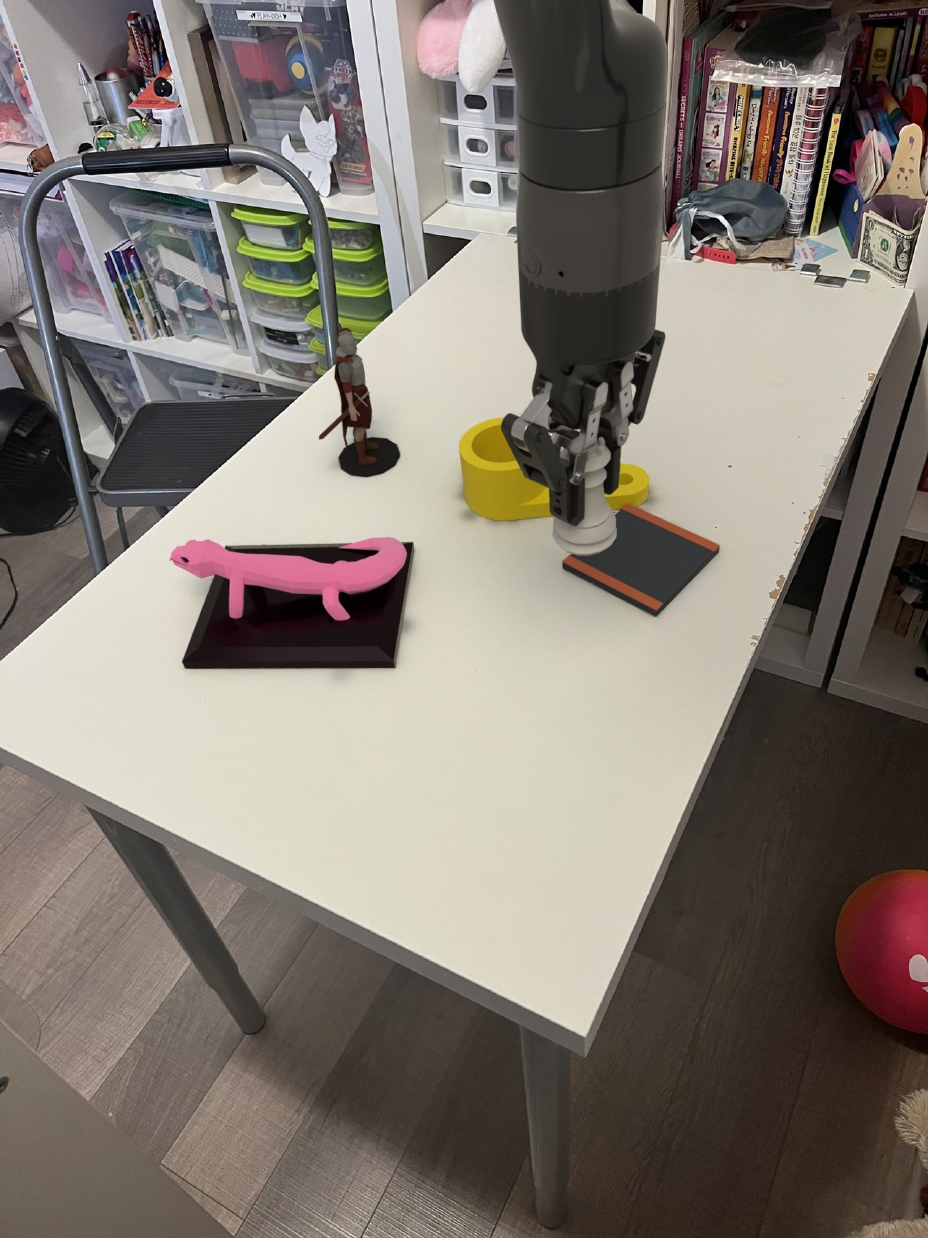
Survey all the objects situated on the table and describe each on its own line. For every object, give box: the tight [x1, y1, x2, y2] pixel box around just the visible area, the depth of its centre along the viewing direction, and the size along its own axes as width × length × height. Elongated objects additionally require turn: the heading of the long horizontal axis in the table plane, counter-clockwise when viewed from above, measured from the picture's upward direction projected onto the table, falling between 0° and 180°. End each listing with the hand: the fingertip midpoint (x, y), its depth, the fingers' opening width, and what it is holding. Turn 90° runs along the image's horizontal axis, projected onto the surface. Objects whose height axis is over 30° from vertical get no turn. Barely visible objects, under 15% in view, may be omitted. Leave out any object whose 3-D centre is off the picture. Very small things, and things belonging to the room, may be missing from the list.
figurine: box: [318, 327, 401, 478], centre depth 89 cm, size 7×7×15 cm
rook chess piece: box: [551, 437, 617, 556], centre depth 59 cm, size 4×4×8 cm
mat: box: [561, 503, 721, 618], centre depth 79 cm, size 10×10×1 cm
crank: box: [458, 416, 650, 522], centre depth 85 cm, size 18×8×6 cm, turn 83°
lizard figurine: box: [169, 536, 415, 670], centre depth 77 cm, size 15×20×7 cm
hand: (585, 502), depth 59 cm, fingers closed on rook chess piece, 3 cm apart
